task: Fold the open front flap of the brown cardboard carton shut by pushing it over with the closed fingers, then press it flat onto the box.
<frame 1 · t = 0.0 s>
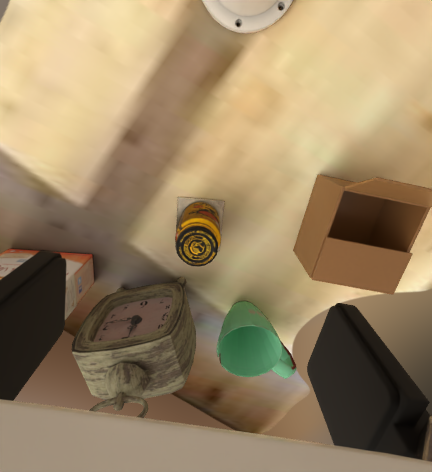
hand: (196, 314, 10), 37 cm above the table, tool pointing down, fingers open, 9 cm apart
mug: (253, 318, 55), on the table
condiment: (199, 223, 48), on the table
carton: (339, 221, 48), on the table
flap: (408, 193, 33), point 13 cm above the table, hinge at 110.0°
cracker box: (53, 264, 51), on the table
tabletop clock: (156, 297, 53), on the table
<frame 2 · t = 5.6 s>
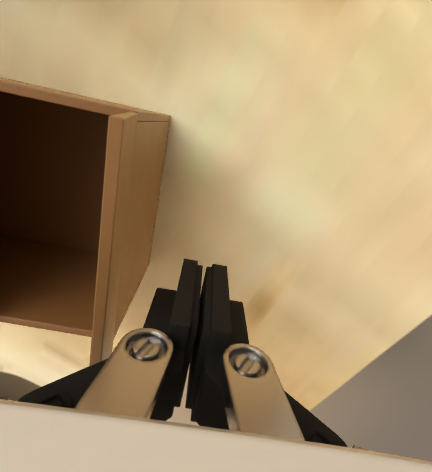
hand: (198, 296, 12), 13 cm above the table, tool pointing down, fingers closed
carton: (74, 179, 23), on the table
flap: (111, 284, 11), point 13 cm above the table, hinge at 101.3°, touching gripper
cylindrical container: (165, 355, 29), on the table
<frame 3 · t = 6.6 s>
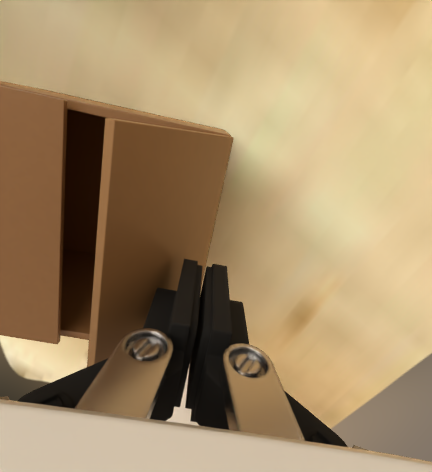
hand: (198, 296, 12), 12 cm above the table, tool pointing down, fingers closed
carton: (125, 192, 23), on the table
flap: (160, 292, 11), point 13 cm above the table, hinge at 61.8°
cylindrical container: (204, 364, 29), on the table
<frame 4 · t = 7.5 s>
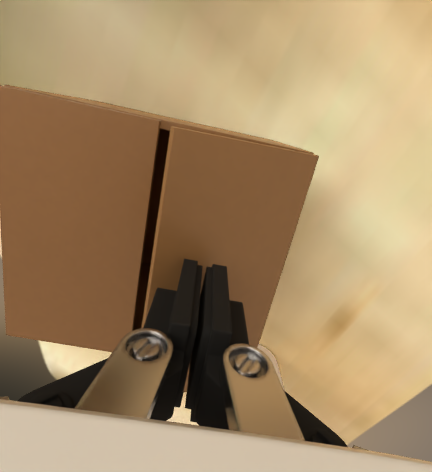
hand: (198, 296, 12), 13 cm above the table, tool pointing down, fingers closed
carton: (173, 201, 23), on the table
flap: (220, 284, 13), point 11 cm above the table, hinge at 27.4°, touching gripper
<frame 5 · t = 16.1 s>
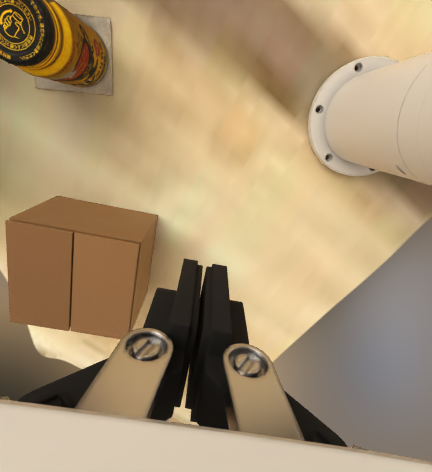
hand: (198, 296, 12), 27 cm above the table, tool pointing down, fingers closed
condiment: (73, 55, 32), on the table
carton: (104, 247, 40), on the table
flap: (103, 289, 31), point 10 cm above the table, hinge at -0.6°
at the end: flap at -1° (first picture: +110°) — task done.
